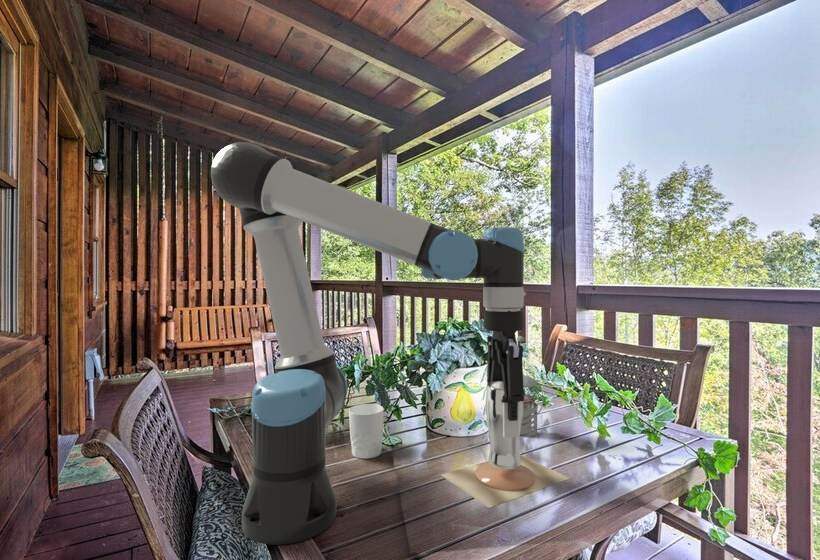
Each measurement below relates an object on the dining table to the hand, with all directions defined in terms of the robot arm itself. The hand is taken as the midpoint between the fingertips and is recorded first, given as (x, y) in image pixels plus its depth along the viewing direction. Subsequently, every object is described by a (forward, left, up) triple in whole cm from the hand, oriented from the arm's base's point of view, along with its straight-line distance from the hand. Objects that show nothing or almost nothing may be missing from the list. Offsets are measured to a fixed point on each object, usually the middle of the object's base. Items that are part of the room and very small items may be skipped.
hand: (504, 429), depth 83 cm
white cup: (-26, +18, -11) cm, 34 cm away
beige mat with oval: (0, 0, -11) cm, 11 cm away
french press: (+13, +23, -11) cm, 29 cm away
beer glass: (0, 0, -7) cm, 7 cm away
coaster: (0, 0, -9) cm, 9 cm away
